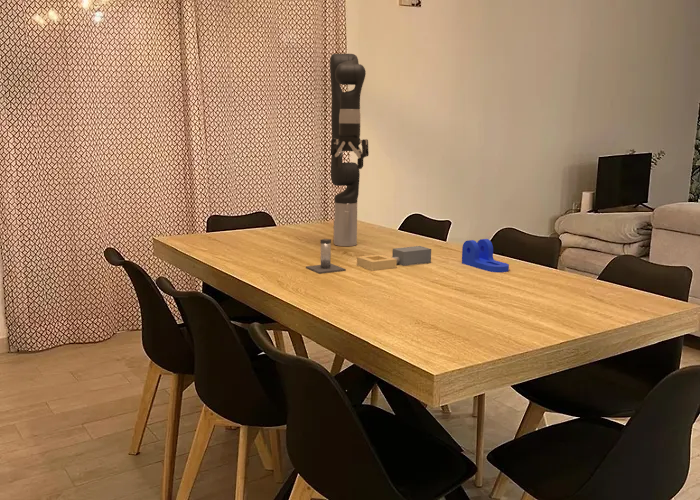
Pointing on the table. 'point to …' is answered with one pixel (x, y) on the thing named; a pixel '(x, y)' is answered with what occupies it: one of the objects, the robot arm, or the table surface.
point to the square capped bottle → (325, 253)
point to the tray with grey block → (396, 258)
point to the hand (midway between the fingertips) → (349, 168)
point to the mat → (319, 270)
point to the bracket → (481, 256)
